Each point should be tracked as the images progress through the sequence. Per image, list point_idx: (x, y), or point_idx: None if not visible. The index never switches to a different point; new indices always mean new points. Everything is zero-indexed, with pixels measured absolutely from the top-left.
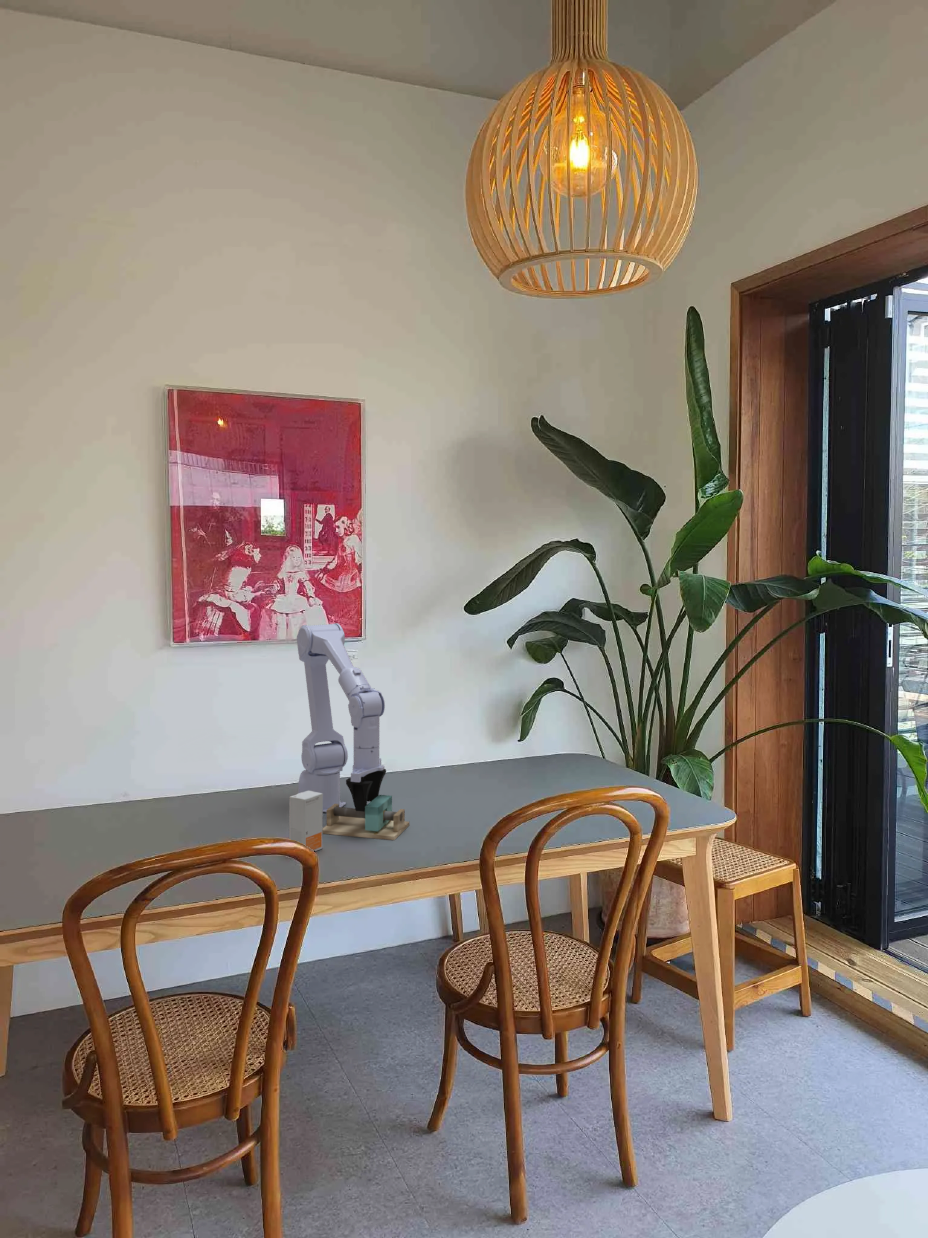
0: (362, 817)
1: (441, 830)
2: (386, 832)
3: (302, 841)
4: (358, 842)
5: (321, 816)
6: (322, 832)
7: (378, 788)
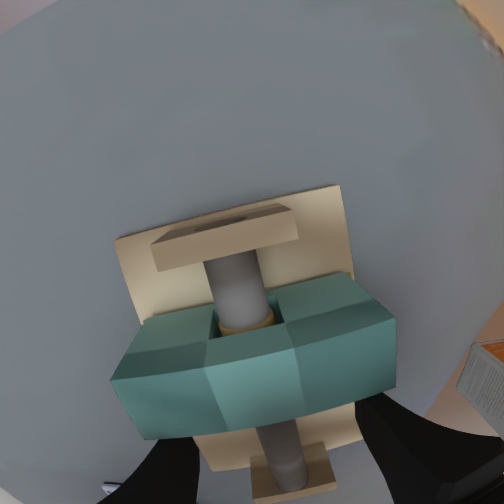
0: None
1: (114, 82)
2: (306, 247)
3: None
4: (405, 296)
5: None
6: None
7: (161, 470)
